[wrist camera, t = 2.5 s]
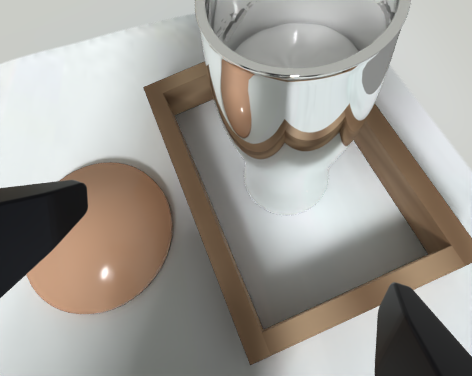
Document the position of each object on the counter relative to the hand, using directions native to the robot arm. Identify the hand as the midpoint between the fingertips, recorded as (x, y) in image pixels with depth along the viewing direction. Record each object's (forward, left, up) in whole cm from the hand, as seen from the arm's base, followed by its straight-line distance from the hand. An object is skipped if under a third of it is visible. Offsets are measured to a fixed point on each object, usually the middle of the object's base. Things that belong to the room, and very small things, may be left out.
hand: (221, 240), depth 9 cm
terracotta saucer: (-11, +4, -13) cm, 18 cm away
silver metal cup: (+3, +7, -14) cm, 16 cm away
